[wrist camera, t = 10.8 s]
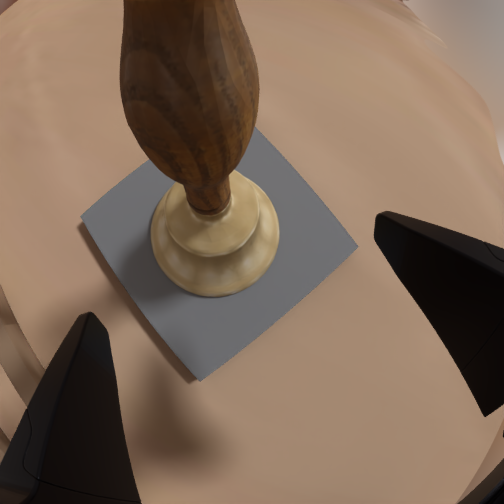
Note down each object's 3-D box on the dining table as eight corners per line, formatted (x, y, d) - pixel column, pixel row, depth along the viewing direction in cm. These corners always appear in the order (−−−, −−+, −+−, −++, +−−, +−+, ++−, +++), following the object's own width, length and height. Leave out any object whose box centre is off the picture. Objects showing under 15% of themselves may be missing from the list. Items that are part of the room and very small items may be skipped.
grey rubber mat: (352, 248, 19) (358, 246, 18) (201, 377, 17) (199, 381, 16) (232, 112, 20) (233, 105, 19) (86, 219, 18) (80, 216, 17)
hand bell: (289, 285, 17) (555, 247, 2) (160, 305, 17) (-93, 347, 1) (266, 164, 18) (350, -62, 3) (147, 182, 17) (31, -24, 2)
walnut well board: (120, 460, 15) (112, 472, 13) (43, 495, 13) (36, 503, 11) (0, 284, 16) (-14, 283, 14) (-47, 363, 13) (-58, 365, 11)
